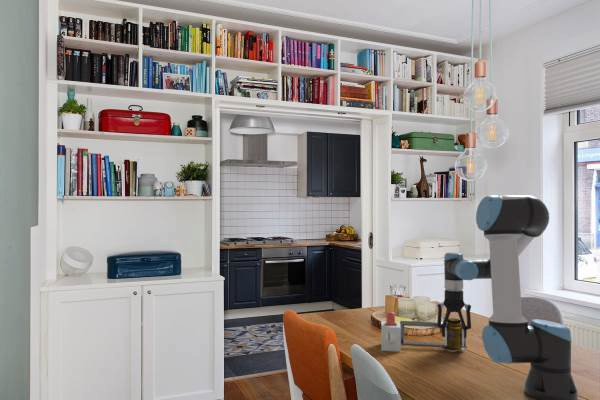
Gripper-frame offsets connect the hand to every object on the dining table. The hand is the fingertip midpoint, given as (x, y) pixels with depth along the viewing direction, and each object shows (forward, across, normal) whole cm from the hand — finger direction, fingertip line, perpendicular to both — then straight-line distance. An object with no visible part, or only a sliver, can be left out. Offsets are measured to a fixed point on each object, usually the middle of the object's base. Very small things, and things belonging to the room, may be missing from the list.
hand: (454, 344), depth 199 cm
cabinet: (+3, +26, 0) cm, 26 cm away
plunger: (-3, +26, 0) cm, 26 cm away
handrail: (+2, +8, -7) cm, 11 cm away
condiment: (+2, +1, 0) cm, 2 cm away
